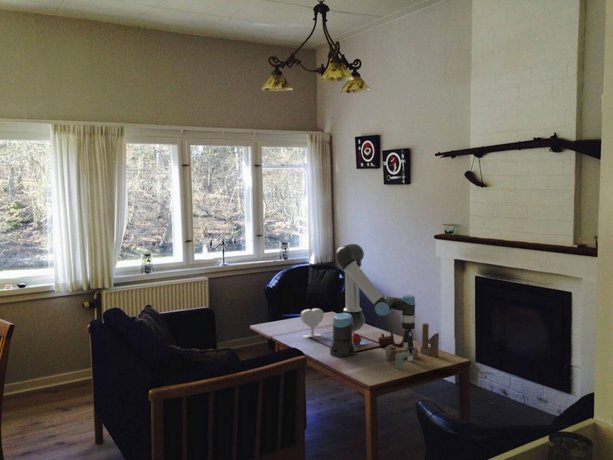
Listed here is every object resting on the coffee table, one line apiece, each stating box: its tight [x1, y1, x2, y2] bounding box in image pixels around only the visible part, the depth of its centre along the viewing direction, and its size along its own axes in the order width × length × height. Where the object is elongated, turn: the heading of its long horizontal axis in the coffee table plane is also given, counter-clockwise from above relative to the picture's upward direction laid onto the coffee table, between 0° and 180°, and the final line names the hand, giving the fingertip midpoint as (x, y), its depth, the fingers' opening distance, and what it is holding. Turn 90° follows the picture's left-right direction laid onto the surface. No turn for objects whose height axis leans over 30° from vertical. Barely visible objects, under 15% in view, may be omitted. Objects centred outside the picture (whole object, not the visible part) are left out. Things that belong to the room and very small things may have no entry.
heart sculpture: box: [300, 307, 325, 339], centre depth 361 cm, size 16×5×18 cm, turn 116°
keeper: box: [394, 352, 411, 370], centre depth 301 cm, size 4×8×8 cm, turn 125°
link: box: [385, 346, 419, 360], centre depth 318 cm, size 18×7×5 cm, turn 90°
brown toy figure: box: [378, 331, 404, 348], centre depth 338 cm, size 6×17×10 cm, turn 77°
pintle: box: [386, 349, 392, 363], centre depth 311 cm, size 2×2×7 cm
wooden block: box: [420, 322, 440, 358], centre depth 323 cm, size 4×11×18 cm, turn 39°
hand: (407, 357), depth 318 cm, fingers open, 13 cm apart
